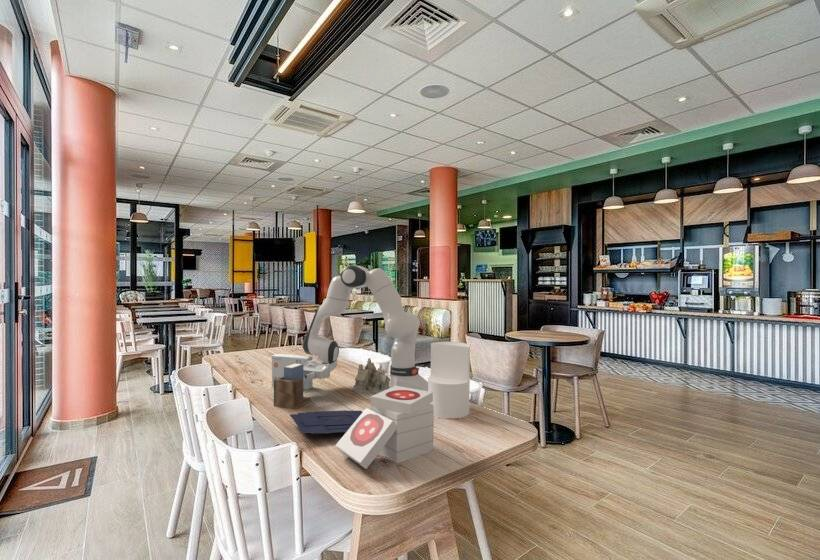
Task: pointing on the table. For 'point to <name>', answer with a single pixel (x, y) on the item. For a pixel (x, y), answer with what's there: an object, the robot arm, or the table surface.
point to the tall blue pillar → (293, 372)
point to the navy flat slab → (325, 421)
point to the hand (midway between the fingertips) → (297, 375)
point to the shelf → (289, 393)
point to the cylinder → (450, 379)
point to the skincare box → (285, 360)
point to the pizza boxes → (392, 427)
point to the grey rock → (370, 379)
